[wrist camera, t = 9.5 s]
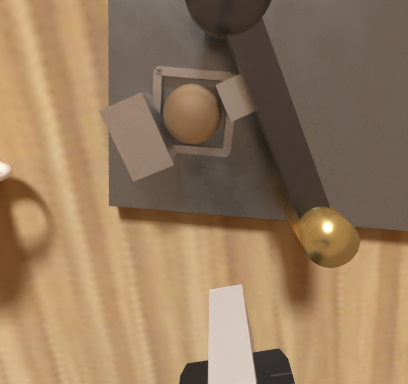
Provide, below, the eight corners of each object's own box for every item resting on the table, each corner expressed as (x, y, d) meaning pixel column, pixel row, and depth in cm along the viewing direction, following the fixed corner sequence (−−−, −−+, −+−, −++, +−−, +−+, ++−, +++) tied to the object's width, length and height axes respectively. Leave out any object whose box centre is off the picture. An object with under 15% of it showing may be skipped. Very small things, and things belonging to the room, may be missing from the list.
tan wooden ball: (217, 141, 25) (219, 150, 21) (166, 137, 25) (157, 145, 21) (223, 87, 24) (225, 85, 20) (168, 82, 24) (160, 80, 20)
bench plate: (410, 223, 29) (459, 255, 23) (116, 198, 29) (91, 224, 23) (505, -110, 22) (611, -184, 16) (117, -144, 22) (82, -229, 16)
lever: (276, 233, 26) (298, 281, 19) (173, -14, 21) (156, -62, 14) (337, 209, 25) (381, 250, 19) (245, -51, 20) (261, -120, 14)
